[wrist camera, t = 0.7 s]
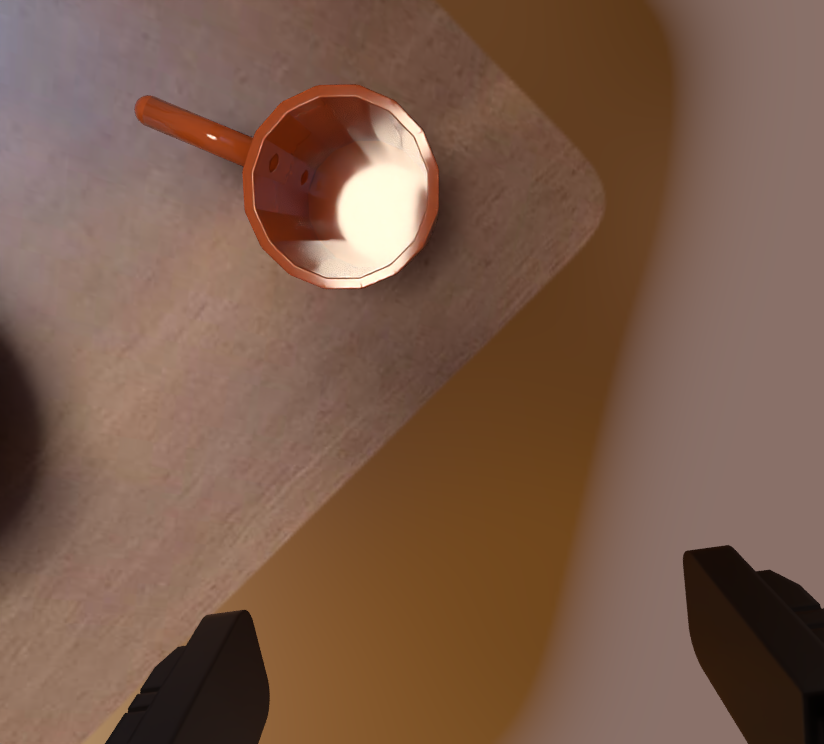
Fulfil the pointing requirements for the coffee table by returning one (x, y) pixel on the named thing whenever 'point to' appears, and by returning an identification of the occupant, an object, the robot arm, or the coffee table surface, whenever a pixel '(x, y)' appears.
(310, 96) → the mug
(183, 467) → the coffee table surface
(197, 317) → the coffee table surface
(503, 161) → the coffee table surface
